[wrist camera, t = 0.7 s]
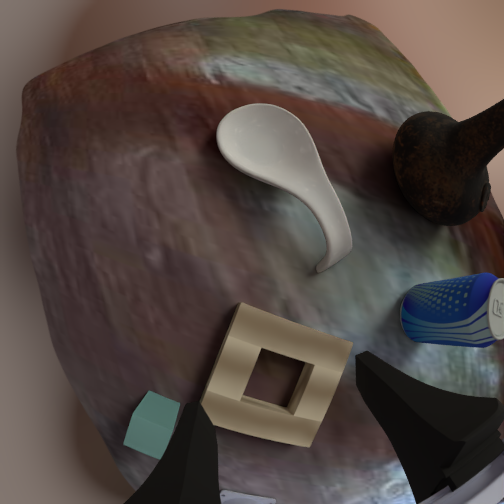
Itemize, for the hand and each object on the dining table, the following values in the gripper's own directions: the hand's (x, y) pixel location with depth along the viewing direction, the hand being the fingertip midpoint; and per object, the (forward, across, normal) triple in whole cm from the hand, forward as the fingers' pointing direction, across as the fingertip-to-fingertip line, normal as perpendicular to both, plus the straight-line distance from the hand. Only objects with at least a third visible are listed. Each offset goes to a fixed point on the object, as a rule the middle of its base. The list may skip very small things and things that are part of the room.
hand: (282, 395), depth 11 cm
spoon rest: (+28, -8, -5) cm, 29 cm away
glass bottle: (+29, -32, -1) cm, 43 cm away
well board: (+16, 0, +14) cm, 22 cm away
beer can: (+20, -22, +16) cm, 34 cm away
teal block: (+14, +14, +14) cm, 25 cm away
